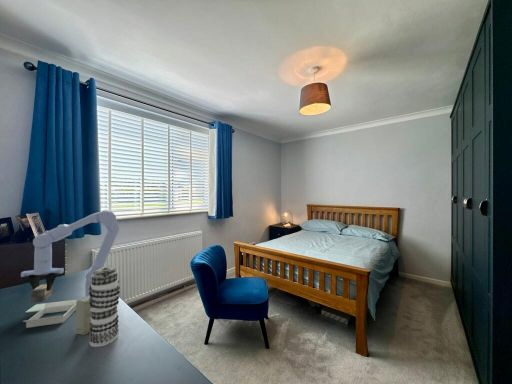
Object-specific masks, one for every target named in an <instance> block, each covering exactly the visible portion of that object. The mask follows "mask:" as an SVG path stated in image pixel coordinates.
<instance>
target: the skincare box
mask: <svg viewBox="0 0 512 384" xmlns="http://www.w3.org/2000/svg"><path fill="white" fill-rule="evenodd" d="M89 298H90V295H88V296H86V297H85V296H84V297H82V298H79V300H77V299H76V300H77V301H76V310H75V334H78V335H84V336H85V335H86V334H88V333H90V323H91V317H92V311H91V310H90V308H91V306H90V304H89V303H90V300H89Z"/></svg>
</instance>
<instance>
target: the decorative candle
mask: <svg viewBox="0 0 512 384" xmlns="http://www.w3.org/2000/svg"><path fill="white" fill-rule="evenodd" d="M118 273H119V270H118V269H116V267H114V266H105V267H103V268H99V269H97V270H96V271H95V272H94V273H93V274H92V275H91V276H92V284H91V286H90V288H89V290H90V292H89V294H90V298H89V300H90V303H89V304H90V306H91V308H90V310H91V311H92V317H91V323H90V332H89V334H88V335H89V338H88V340H89V345H90V346H91V347H93V348H96V347H97V348H99V347H100V348H101V347H104V346H106V345H108V344H111V343H113V342H114V341H115V340H116V339H117V338H118V337H119V317H120V316H119V315H118V313H119V312H118V305H119V302H120V301H119V299H120V296H119V294H120V288H121V287H120V286H119V285H118V284H119V283H120V280H119V279H118ZM91 288H92V289H91ZM91 292H92V293H91Z"/></svg>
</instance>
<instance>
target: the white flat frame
mask: <svg viewBox="0 0 512 384" xmlns="http://www.w3.org/2000/svg"><path fill="white" fill-rule="evenodd" d="M79 299H80V298H79ZM79 299H71V300H62V301H55V302H53V301H52V302H46V303H47V304H46V305H45V307H44V308H43V309H42V310H40V311H38V312H36V313H35V314H34V315H33V316H31V317H29V319H28V320H27V319H25V320H22V322H23V323H25V324H26V325H25V326H26V327H25V328H26V329H28V328H35V327H40V326H41V327H42V326H49V325H56V324H63V323H64V322H66V320H67V319H69V318H70V317H71V315H73V313H74V312H76V301H77V300H79ZM59 312H65V313H64V314H63V315H55V316H51V317H50V316H49V317H43V316H44V315H45V314H52V313H59Z"/></svg>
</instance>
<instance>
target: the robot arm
mask: <svg viewBox="0 0 512 384" xmlns="http://www.w3.org/2000/svg"><path fill="white" fill-rule="evenodd" d="M99 222H100V223H101V224H103V225H104V226H105V228H106V230H107V232H106V234H105V236H104V238H103V241H102V244H101V246H100V247H99V250H98V252H97V255H96V257H95V259H94V262H93V264H92V265H91V266H90V267H89V268H88V269H87V273H86V275H85V284H84V285H85V286H84V287H85V288H84V289H85V292H84V293H85V296H84V297H86V296H88V295H90V294H89V292H90V290H89V288H90V286H91V284H92V276H91V275H92V274H93V273H94V272H95V271H96V270H97V269H99V268H103V267H104V266H105V263H106V262H107V258H108V256H109V253H110V251H111V249H112V248H113V247H112V246H113V244H114V242H115V240H116V237H117V236H118V233H119V230H120V225H119V223H118V219H117V216H116V215H115V213H114V212H113V211H112V210H109V209H104V210H102V211H99V212H95V213H92V214H89V215H87V216H86V217H84V218H81V219H79V220H77V221H75V222H72V223H70V224H65V223H63V224H59V225H57V227H55V228H52V229H50V230H45V231H44V233H41V234H38V235H37V236H35V237H34V238H33V239H32V245H33V246H34V252H33V255H34V256H33V257H34V258H33V261H34V262H33V269H31V270H24V271H21V272H20V278H25V277H27V278H26V281H27V282H28V283H29V284H30V286H31V288H32V290H34V289H35V288H37V287H38V286H40V281H41V280H40V279H41V276H43V275H44V276H45V275H46V276H45V277H44V278H45V281H46V283H45V284H47V291H49V290H51V288H52V289H53V285H54V282H55V280H56V278H57V277H58V274H59V275H60V274H61V275H62V274H63V273H64V271H65V270H64V269H65V268H64V267H61V268H60V267H59V268H58V267H52V265H53V249H52V247H53V246H52V245H53V244H52V243H54V242H55V243H56V242H57V241H60V240H62V239H64V238H66V237H68V236H69V237H70V236H71V235H72V234H73V231H75V230H77V229H80V228H82V227H84V226H86V225H88V224H91V223H92V224H93V223H95V224H96V223H97V224H98V223H99ZM91 289H92V288H91ZM91 293H92V292H91Z"/></svg>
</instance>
